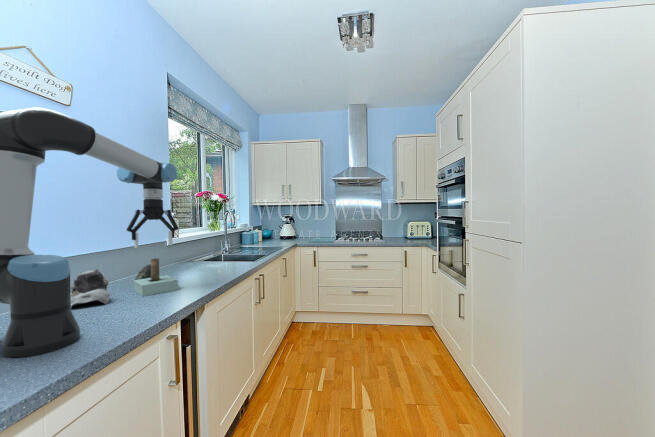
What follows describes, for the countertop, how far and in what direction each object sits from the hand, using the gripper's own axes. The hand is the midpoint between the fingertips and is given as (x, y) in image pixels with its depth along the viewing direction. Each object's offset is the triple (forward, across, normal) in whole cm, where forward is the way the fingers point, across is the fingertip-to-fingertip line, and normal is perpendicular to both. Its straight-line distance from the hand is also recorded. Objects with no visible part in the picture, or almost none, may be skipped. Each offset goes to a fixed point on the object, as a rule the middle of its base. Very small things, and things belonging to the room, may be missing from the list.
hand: (154, 246), depth 135 cm
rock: (+20, 0, +15) cm, 25 cm away
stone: (+20, -24, -4) cm, 31 cm away
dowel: (+20, 0, 0) cm, 20 cm away
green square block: (+20, 0, 0) cm, 20 cm away
